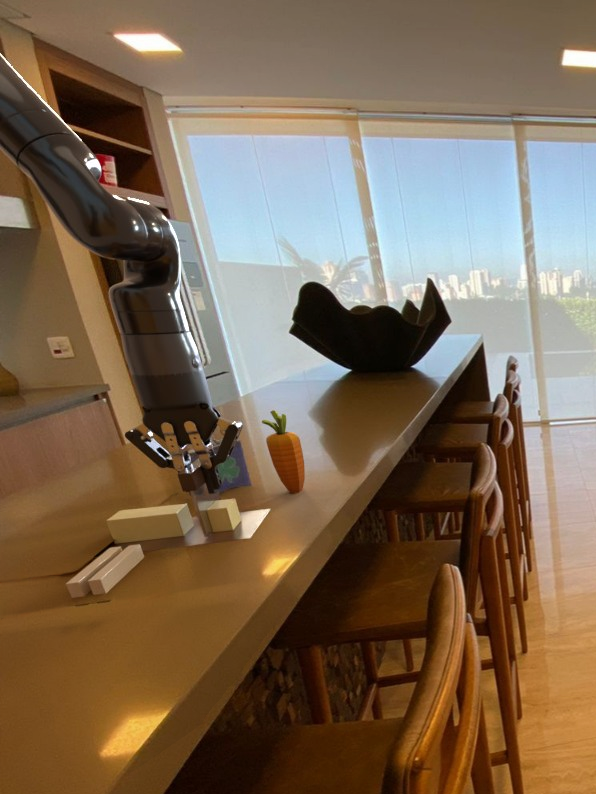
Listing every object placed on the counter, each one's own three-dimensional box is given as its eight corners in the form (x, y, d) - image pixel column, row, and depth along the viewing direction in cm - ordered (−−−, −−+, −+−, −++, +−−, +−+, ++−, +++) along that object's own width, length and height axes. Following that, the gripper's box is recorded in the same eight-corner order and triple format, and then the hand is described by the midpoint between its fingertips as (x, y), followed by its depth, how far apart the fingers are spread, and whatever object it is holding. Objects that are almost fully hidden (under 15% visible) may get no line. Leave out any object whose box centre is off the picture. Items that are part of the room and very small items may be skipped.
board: (93, 565, 74) (90, 557, 73) (135, 530, 84) (132, 523, 84) (251, 546, 79) (249, 538, 79) (272, 515, 90) (270, 508, 89)
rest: (109, 602, 65) (100, 579, 64) (75, 606, 64) (65, 583, 63) (147, 564, 74) (140, 544, 73) (117, 568, 73) (109, 547, 72)
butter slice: (213, 532, 81) (206, 509, 79) (222, 522, 84) (215, 500, 83) (233, 530, 81) (226, 507, 80) (241, 520, 85) (235, 498, 84)
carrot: (309, 501, 96) (288, 413, 90) (276, 504, 94) (253, 415, 89) (316, 491, 100) (296, 407, 95) (285, 494, 99) (263, 409, 93)
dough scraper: (211, 537, 78) (191, 472, 75) (198, 539, 78) (176, 474, 74) (231, 514, 86) (214, 455, 83) (219, 516, 86) (201, 456, 82)
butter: (114, 544, 77) (105, 520, 76) (128, 533, 81) (119, 510, 79) (184, 536, 80) (176, 513, 78) (194, 525, 83) (187, 503, 82)
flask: (208, 504, 94) (189, 442, 90) (195, 502, 95) (175, 440, 91) (256, 486, 103) (241, 429, 99) (244, 485, 103) (228, 428, 99)
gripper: (236, 363, 79) (267, 480, 86) (117, 367, 75) (158, 490, 81) (219, 370, 73) (253, 496, 79) (87, 375, 68) (134, 508, 75)
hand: (205, 492), depth 80 cm, fingers closed on dough scraper, 1 cm apart
